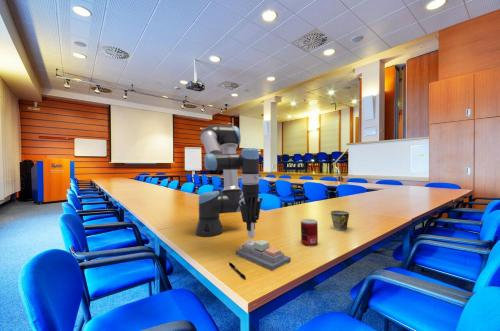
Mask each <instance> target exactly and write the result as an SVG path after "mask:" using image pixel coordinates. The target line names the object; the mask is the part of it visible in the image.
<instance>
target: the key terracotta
mask: <svg viewBox="0 0 500 331" xmlns="http://www.w3.org/2000/svg"><path fill="white" fill-rule="evenodd" d="M281 252H282V250H281V249H280V248H276V247H269V249H266V250H265V254H267V255H269V256H272V257H275V256H278V255H280V254H281Z"/></svg>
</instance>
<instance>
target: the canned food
mask: <svg viewBox="0 0 500 331" xmlns="http://www.w3.org/2000/svg"><path fill="white" fill-rule="evenodd" d="M318 229H319V228H318V220H316V219H312V218H304V219H301V220H300V238H301V239H300V240H301V244H302V245H304V246H306V247H314V246H317V245H318V242H319V238H318V234H319V233H318V232H319V230H318Z"/></svg>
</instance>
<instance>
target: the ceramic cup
mask: <svg viewBox="0 0 500 331" xmlns="http://www.w3.org/2000/svg"><path fill="white" fill-rule="evenodd" d="M349 217H350V212H348V211H346V210H331V211H330V218H331V220H332V226H333V229H334V231H335V230H336V231H339V232H340V231H341V232H345V231H347V228H348V223H349Z"/></svg>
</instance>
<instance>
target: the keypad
mask: <svg viewBox="0 0 500 331" xmlns="http://www.w3.org/2000/svg"><path fill="white" fill-rule="evenodd" d="M235 255H237V256H240V257H242V258H243V259H245V260H247V261H250V262H252V263H255V264H256V265H259V266H261V267H263V268H266V269H268V270H270V271H274V270H277V269H278V268H280V267H282V266H284V265H286V264H288V263H290V262H291V256H287V255H285V253H284V252H282V251H281V254H280V255H278V256H275V257H272V256H269V255H267V254H265V250H264V251H260V250H257V249H255V248H249V247H246V246H244V243H243V244H241V247H240V248H239V249H237V250H235Z"/></svg>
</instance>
